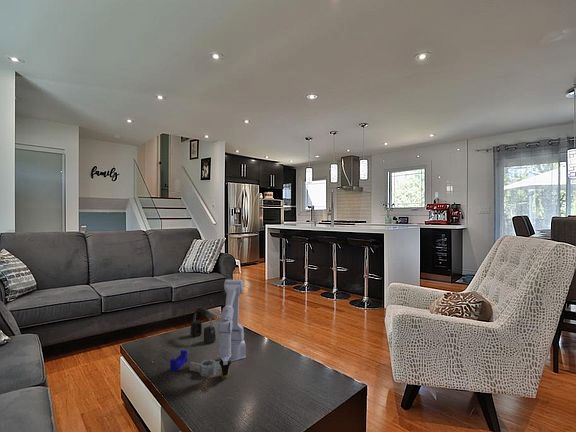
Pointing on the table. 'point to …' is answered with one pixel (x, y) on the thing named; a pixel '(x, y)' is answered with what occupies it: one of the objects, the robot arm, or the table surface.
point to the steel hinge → (205, 367)
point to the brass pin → (225, 375)
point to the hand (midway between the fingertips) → (225, 372)
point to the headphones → (208, 331)
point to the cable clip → (178, 361)
